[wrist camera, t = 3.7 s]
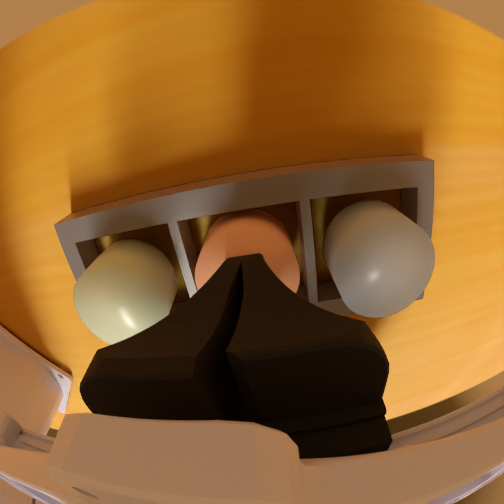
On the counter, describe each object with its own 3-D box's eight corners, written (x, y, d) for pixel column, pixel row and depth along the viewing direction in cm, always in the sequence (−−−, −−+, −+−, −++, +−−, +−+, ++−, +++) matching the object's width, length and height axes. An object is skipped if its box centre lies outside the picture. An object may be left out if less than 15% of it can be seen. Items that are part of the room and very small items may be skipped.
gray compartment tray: (116, 324, 16) (107, 342, 14) (70, 213, 13) (53, 224, 11) (409, 282, 14) (422, 298, 13) (415, 154, 11) (433, 160, 10)
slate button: (324, 289, 13) (338, 326, 11) (319, 205, 11) (336, 229, 9) (402, 275, 13) (427, 306, 10) (406, 194, 11) (439, 214, 9)
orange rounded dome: (215, 292, 14) (208, 325, 12) (195, 216, 13) (182, 240, 10) (295, 280, 14) (303, 312, 12) (285, 201, 12) (294, 221, 10)
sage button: (116, 316, 14) (98, 350, 11) (87, 246, 12) (58, 274, 10) (188, 309, 13) (177, 347, 11) (162, 231, 12) (142, 260, 9)
